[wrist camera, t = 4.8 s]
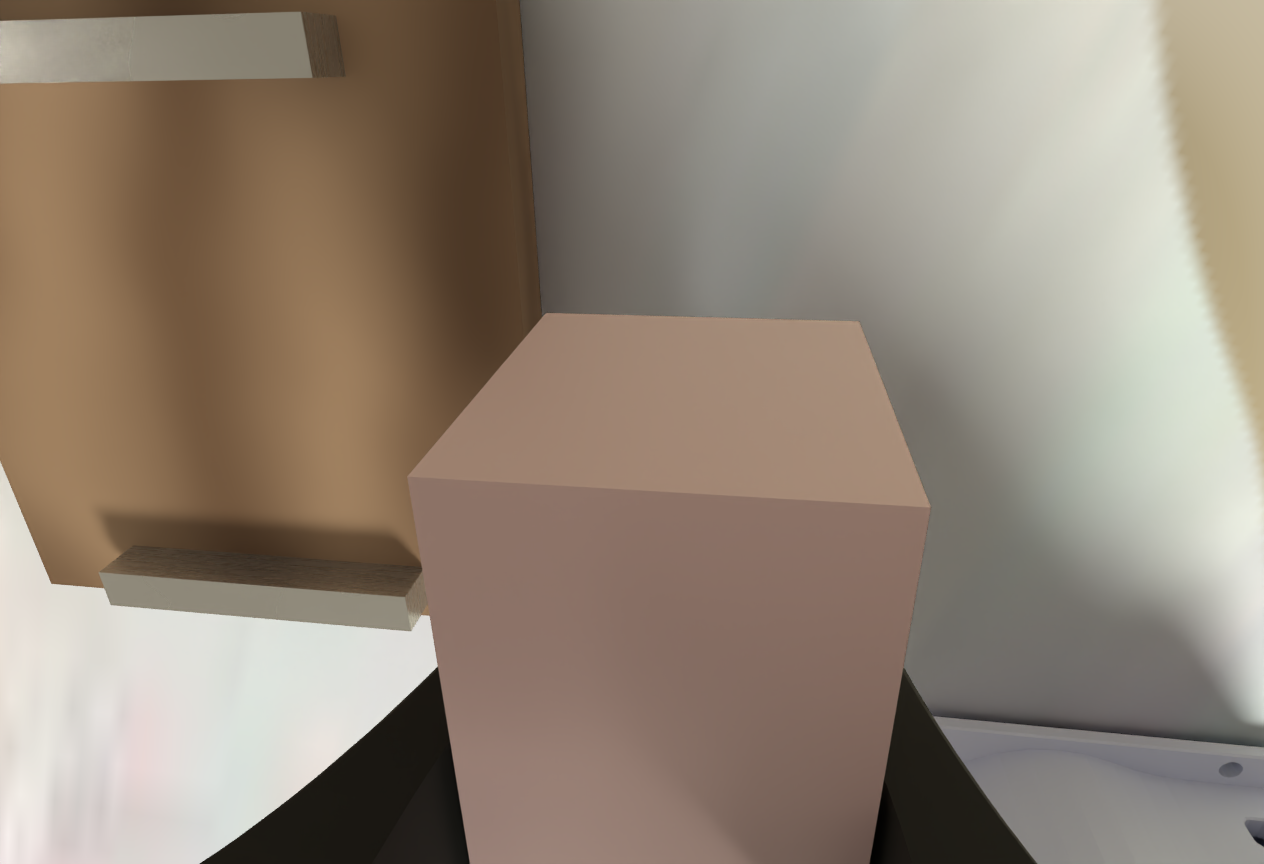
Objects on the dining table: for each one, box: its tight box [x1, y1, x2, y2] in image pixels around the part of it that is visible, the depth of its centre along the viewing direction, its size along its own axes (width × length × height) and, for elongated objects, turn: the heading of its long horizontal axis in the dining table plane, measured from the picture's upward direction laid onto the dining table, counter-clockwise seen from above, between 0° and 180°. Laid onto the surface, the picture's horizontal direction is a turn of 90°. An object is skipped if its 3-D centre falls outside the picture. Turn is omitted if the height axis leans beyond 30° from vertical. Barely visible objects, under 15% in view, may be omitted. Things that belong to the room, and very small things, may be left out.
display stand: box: [0, 0, 542, 631], centre depth 17 cm, size 14×14×3 cm
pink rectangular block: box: [407, 313, 931, 864], centre depth 10 cm, size 4×9×4 cm, turn 1°
